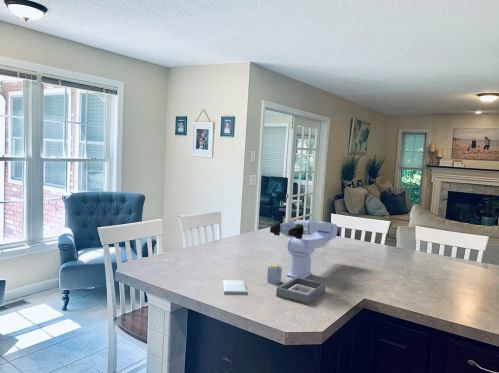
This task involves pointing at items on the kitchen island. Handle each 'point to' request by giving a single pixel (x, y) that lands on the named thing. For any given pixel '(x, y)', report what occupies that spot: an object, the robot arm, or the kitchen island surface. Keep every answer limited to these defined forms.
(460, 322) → the kitchen island surface
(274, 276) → the plug
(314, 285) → the dock
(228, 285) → the hard drive
